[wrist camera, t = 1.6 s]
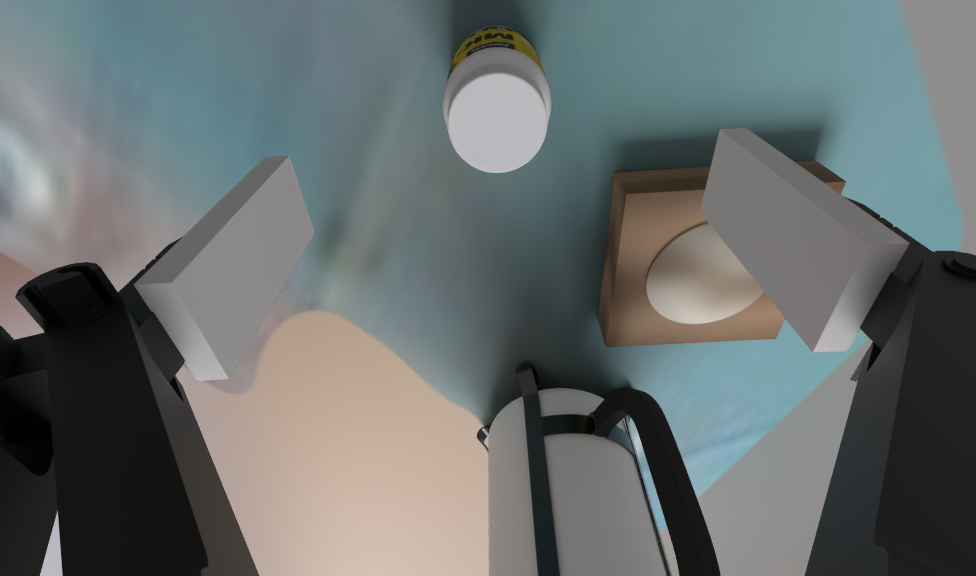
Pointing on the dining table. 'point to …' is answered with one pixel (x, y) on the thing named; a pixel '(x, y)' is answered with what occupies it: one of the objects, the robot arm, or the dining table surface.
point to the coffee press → (587, 487)
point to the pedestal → (678, 266)
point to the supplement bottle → (496, 100)
